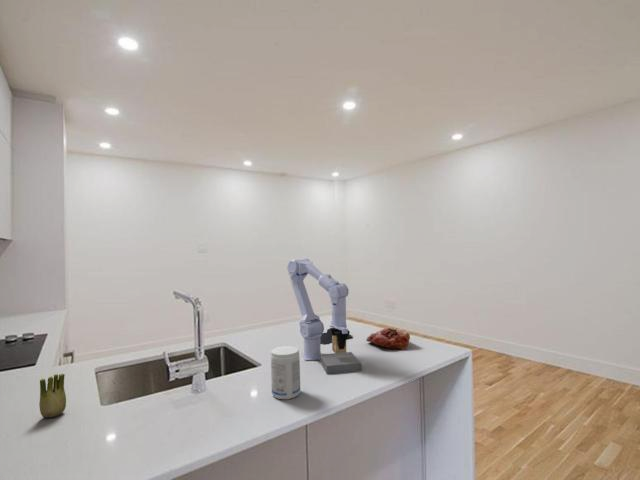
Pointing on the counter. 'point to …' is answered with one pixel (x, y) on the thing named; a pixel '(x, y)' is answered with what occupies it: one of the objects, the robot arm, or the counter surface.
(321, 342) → the dark slate chunk
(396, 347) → the meat
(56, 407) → the fennel bulb
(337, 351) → the oak block
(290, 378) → the supplement tub
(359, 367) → the slate base
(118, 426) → the counter surface
